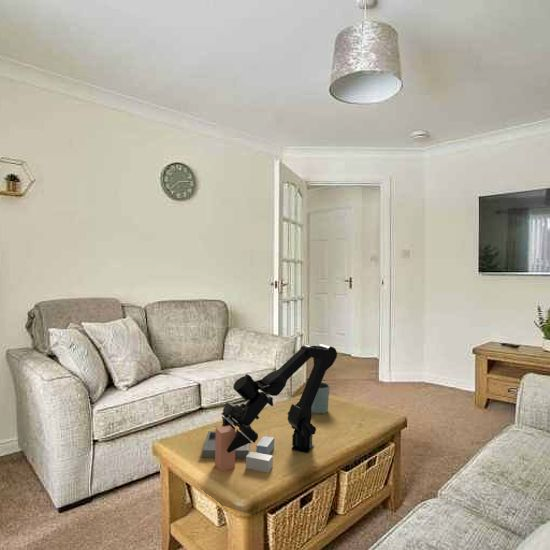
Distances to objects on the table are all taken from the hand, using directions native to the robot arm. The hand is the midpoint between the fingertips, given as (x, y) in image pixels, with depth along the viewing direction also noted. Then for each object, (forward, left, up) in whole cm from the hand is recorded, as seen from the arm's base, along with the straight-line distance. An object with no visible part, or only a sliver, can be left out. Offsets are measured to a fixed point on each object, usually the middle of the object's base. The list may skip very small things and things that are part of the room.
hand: (222, 446), depth 133 cm
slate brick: (-8, -16, -7) cm, 20 cm away
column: (-1, -1, -7) cm, 7 cm away
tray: (+6, -13, -7) cm, 16 cm away
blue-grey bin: (-12, -65, -7) cm, 67 cm away
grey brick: (-11, -5, -7) cm, 14 cm away
